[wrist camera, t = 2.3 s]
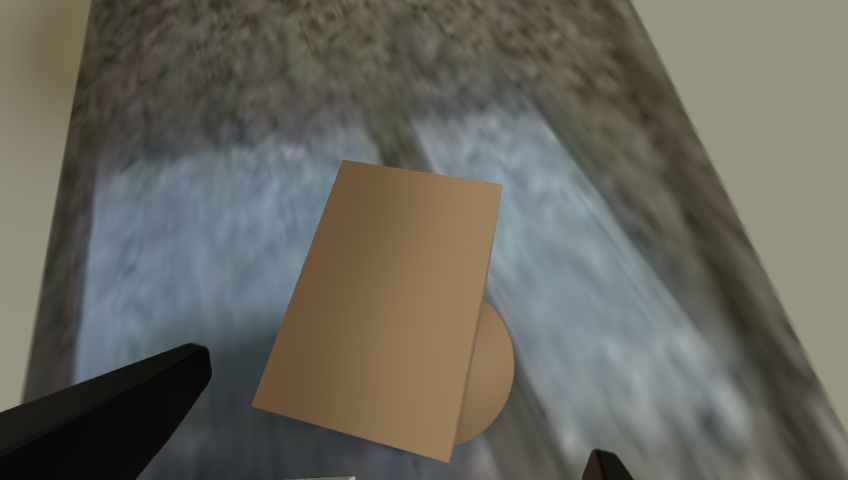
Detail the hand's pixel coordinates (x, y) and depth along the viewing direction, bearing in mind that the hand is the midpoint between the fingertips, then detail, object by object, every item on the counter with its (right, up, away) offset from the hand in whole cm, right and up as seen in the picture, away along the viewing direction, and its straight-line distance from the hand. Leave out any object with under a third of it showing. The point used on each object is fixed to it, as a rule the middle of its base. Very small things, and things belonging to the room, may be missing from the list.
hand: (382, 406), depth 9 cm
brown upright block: (+1, -2, +10) cm, 10 cm away
